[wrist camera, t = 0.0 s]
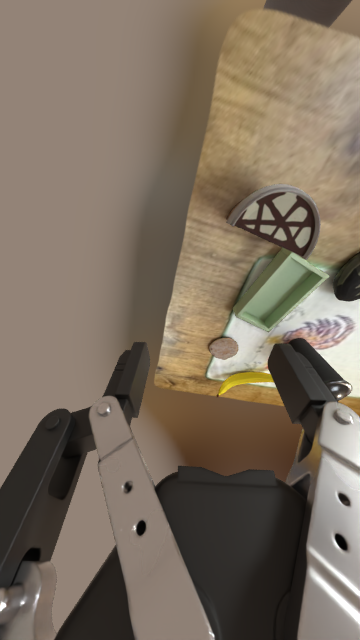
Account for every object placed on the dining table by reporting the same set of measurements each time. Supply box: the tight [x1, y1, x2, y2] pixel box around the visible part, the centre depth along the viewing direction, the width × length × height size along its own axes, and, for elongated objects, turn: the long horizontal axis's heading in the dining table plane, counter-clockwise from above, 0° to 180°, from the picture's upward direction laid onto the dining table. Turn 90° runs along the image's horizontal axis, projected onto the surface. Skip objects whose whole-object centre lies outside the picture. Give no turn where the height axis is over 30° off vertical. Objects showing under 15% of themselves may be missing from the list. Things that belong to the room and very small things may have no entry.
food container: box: [227, 184, 321, 260], centre depth 25 cm, size 12×6×10 cm, turn 69°
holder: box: [233, 248, 329, 332], centre depth 36 cm, size 15×9×4 cm, turn 153°
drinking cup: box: [288, 338, 352, 403], centre depth 38 cm, size 8×8×20 cm
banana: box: [217, 372, 274, 397], centre depth 51 cm, size 3×19×6 cm, turn 111°
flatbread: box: [209, 338, 238, 360], centre depth 47 cm, size 8×8×1 cm
